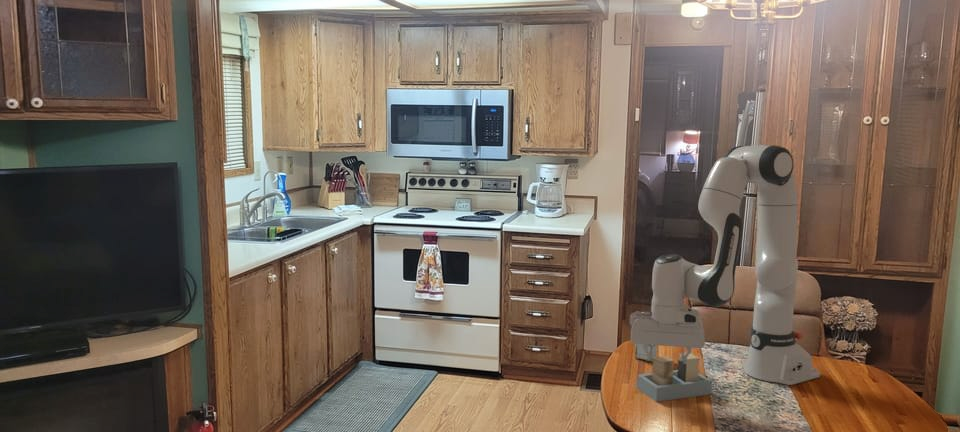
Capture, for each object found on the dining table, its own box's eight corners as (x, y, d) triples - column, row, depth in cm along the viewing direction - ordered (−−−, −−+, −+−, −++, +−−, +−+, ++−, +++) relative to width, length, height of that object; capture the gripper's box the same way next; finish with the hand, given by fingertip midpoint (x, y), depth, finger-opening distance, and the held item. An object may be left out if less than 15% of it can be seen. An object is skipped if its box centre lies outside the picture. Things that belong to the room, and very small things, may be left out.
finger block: (662, 385, 197) (664, 355, 196) (673, 390, 194) (674, 359, 193) (651, 388, 195) (653, 358, 194) (662, 393, 192) (663, 362, 190)
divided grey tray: (689, 381, 203) (691, 349, 202) (710, 394, 194) (713, 360, 192) (636, 387, 198) (638, 355, 196) (656, 401, 188) (657, 367, 187)
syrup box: (657, 357, 223) (659, 314, 221) (651, 362, 218) (653, 318, 216) (640, 353, 226) (642, 311, 224) (634, 358, 221) (636, 315, 219)
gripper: (629, 314, 190) (628, 361, 192) (706, 317, 185) (704, 366, 187) (630, 308, 196) (629, 354, 198) (704, 311, 191) (703, 358, 193)
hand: (666, 360), depth 192 cm, fingers open, 8 cm apart
